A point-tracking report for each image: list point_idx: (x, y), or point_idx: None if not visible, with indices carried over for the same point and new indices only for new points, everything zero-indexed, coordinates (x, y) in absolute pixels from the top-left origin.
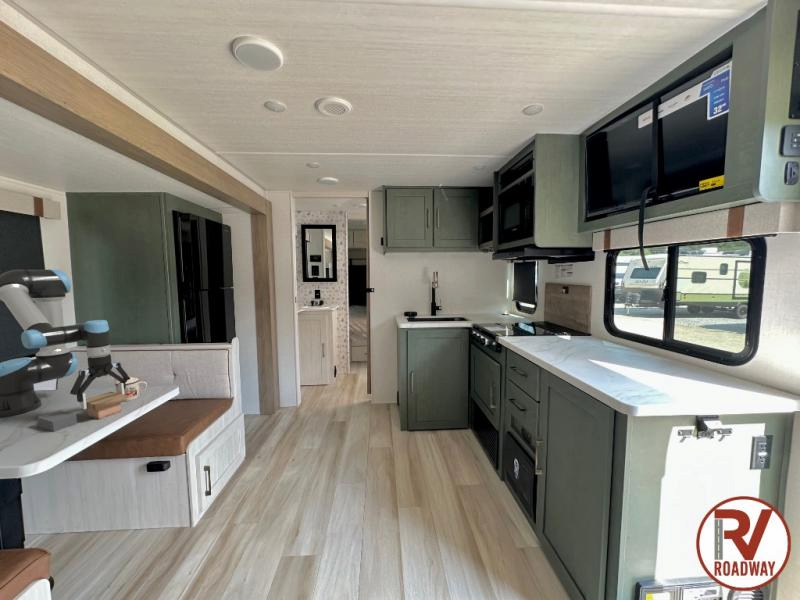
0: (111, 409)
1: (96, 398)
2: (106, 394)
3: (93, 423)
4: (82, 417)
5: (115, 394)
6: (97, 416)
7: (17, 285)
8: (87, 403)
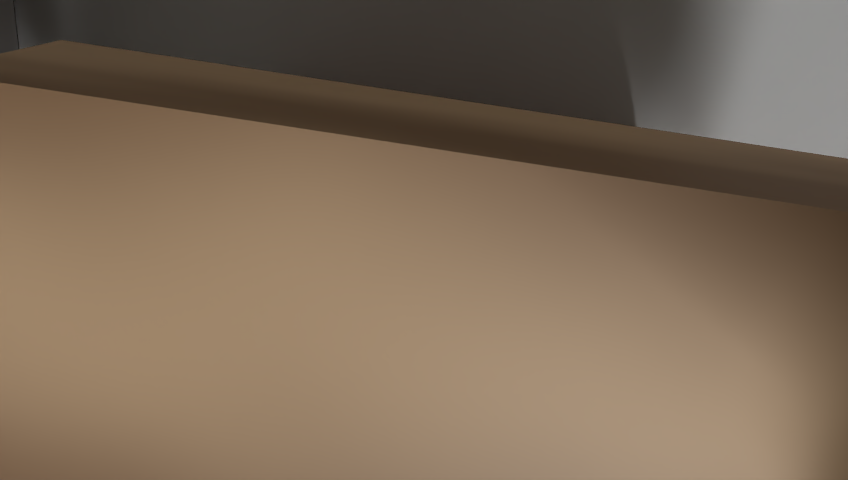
0: None
1: (283, 397)
2: (660, 355)
3: None
4: (205, 12)
5: None
6: None
7: None
8: (11, 441)
